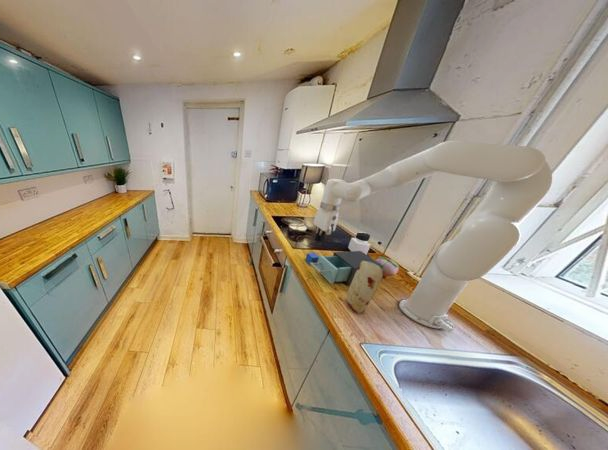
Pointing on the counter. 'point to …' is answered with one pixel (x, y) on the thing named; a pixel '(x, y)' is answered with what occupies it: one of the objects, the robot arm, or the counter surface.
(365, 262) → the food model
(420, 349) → the counter surface
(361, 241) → the medicine bottle
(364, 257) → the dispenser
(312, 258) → the blue cube
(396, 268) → the decorative fruit
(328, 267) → the teal drawer
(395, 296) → the counter surface
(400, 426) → the counter surface
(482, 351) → the counter surface
